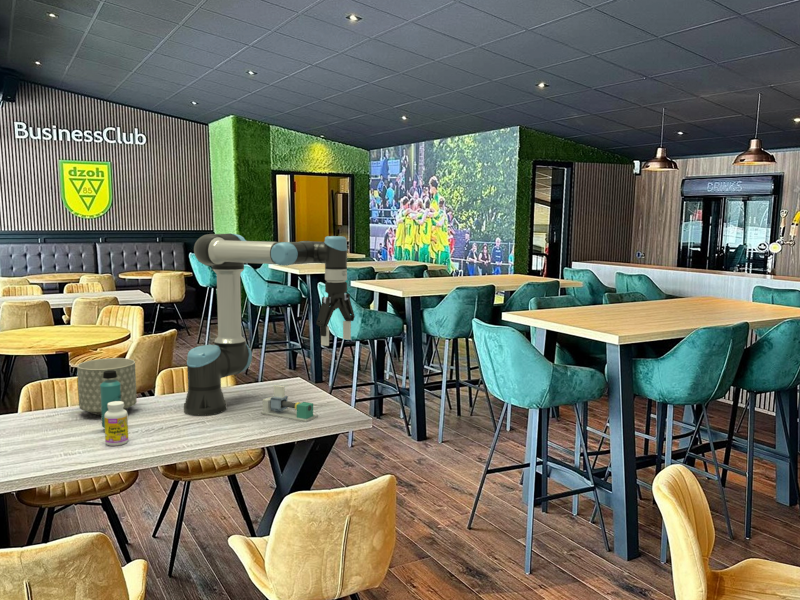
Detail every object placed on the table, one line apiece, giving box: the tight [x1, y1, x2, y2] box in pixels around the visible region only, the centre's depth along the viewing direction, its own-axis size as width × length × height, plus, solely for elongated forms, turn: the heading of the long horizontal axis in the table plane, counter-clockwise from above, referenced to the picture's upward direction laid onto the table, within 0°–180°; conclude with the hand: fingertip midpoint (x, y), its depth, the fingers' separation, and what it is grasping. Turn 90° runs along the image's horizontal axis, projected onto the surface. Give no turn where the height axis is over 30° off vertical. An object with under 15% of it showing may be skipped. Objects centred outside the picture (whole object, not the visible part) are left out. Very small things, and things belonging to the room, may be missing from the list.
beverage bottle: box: [100, 370, 122, 429], centre depth 216 cm, size 6×7×20 cm
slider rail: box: [260, 395, 319, 423], centre depth 235 cm, size 20×7×5 cm, turn 62°
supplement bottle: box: [104, 401, 129, 447], centre depth 204 cm, size 7×7×13 cm
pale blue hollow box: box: [270, 384, 289, 411], centre depth 236 cm, size 4×5×9 cm
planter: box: [76, 357, 137, 416], centre depth 236 cm, size 19×19×18 cm
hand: (336, 342), depth 226 cm, fingers open, 13 cm apart
